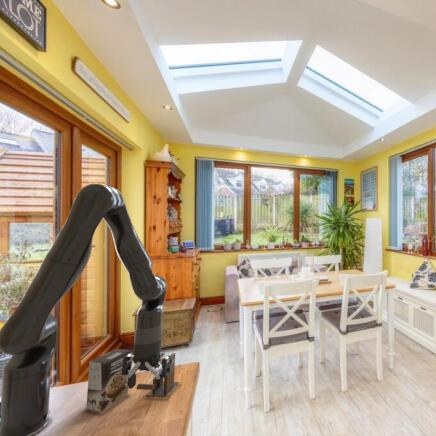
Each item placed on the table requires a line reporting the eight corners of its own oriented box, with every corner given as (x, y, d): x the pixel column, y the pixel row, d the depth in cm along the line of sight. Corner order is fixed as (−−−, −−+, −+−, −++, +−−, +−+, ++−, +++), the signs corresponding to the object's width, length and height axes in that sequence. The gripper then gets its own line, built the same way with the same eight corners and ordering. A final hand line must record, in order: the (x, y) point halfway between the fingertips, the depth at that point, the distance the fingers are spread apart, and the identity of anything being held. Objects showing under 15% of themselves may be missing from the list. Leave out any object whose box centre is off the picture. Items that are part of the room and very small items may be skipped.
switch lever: (152, 392, 84) (151, 386, 83) (137, 391, 84) (135, 385, 83) (174, 360, 95) (173, 355, 95) (160, 360, 95) (159, 355, 95)
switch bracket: (165, 399, 90) (167, 362, 90) (145, 398, 90) (147, 361, 90) (179, 385, 98) (180, 351, 98) (160, 384, 98) (162, 350, 98)
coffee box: (101, 415, 82) (104, 363, 82) (85, 411, 83) (88, 360, 83) (129, 396, 90) (131, 350, 91) (114, 393, 92) (116, 347, 92)
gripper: (117, 342, 81) (113, 394, 81) (162, 344, 81) (159, 397, 80) (135, 331, 88) (132, 379, 88) (176, 334, 88) (173, 382, 88)
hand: (145, 388), depth 84 cm, fingers open, 8 cm apart
